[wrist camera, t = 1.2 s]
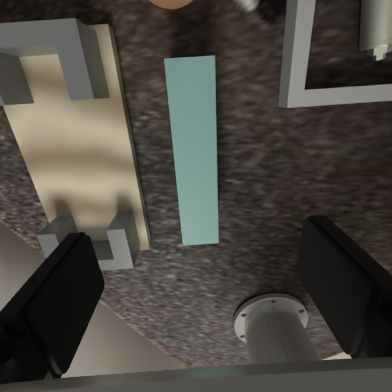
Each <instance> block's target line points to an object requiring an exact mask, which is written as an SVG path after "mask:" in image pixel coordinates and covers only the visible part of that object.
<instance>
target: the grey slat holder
mask: <svg viewBox="0 0 392 392" xmlns="http://www.w3.org/2000/svg"><path fill="white" fill-rule="evenodd" d="M54 54H58V57H59V61H60V64H61V68H62V72H63V75H64V79H65V82H66V86H67V90H68V93H69V97H70V101H72V100H90V99H104V98H110V97H109V93H108V88H107V83H106V78H105V73H104V68H103V64H102V59H101V54H100V49H99V44H98V39H97V34H96V31H94V30H93V29H91V28H90V27H88V26H87V25H85V24H84V23H82V22H80V21H79V20H77V19H76V18H68V19H54V20H40V21H26V22H12V23H0V106H2V105H18V104H32V103H34V100H33V98H32V95H31V92H30V89H29V86H28V83H27V80H26V77H25V74H24V71H23V68H22V65H21V62H20V59H19V57H26V56H40V55H54ZM77 232H78V230H77V227H76V224H75V222H74V219H73V216H59V217H56V218H55V219H54V220H52V221H51V222H50V223H49V224H48V225H47V226H46V227H45V228H44V229H43V230H42V231H40V232H39V233H38V234H37V237H38V239H39V242H40V244H41V246H42V249H43V251H44V253H45V256H46V258H47V257H48V256H49V255H50V254H51V253H52V252H53V251H54V249H55V248H56V247H57V246H58V245H59V244H60V243H61V241H62V240H63V239H64V238H65V237H66V236H67V235H68V234H69V233H77ZM106 232H107V235H108V239H109V240H101V241H92V244H93V247H94V251H95V254H96V257H97V260H98V263H99V266H100V269H101V270H114V269H129V268H134V265H135V262H136V259H137V256H138V253H139V250H140V243H139V238H138V233H137V228H136V223H135V219H134V214H133V212H118V213H117V214H116V215H115V217H114V218H113V220H112V222H111V223H110V225H109V227H108V228H107V230H106Z"/></svg>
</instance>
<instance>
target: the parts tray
mask: <svg viewBox="0 0 392 392" xmlns="http://www.w3.org/2000/svg"><path fill="white" fill-rule="evenodd" d="M315 2H316V0H287V9H286V21H285V32H284V44H283V56H282V68H281V79H280V91H279V103H278V107H285V108H292V107H306V106H321V105H335V104H349V103H364V102H378V101H392V84H380V85H366V86H352V87H337V88H323V89H308V90H304V89H305V81H306V73H307V65H308V57H309V49H310V41H311V33H312V26H313V18H314V10H315Z"/></svg>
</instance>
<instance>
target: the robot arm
mask: <svg viewBox="0 0 392 392" xmlns="http://www.w3.org/2000/svg"><path fill="white" fill-rule="evenodd" d="M297 274H298V276H299V278H300V279H301V281H302V283H303V284H304V286H305V288H306V289H307V291H308V293H309V294H310V296H311V298H312V300H313V301H314V303H315V305H316V306H317V308H318V310H319V311H320V313H321V315H322V316H323V318H324V320H325V321H326V323H327V325H328V326H329V328H330V330H331V331H332V333H333V335H334V336H335V338H336V340H337V341H338V343H339V345H340V346H341V348H342V350H343V351H344V352H345V353H346V354H350V356H351V357H352V359H334V360H320V359H319V357H318V355H317V353H316V351H315V348H314V346H313V344H312V342H311V340H310V338H309V336H308V334H307V332H306V330H305V327H306V325H307V322H308V313H307V311H306V309H305V307H304V305H303V304H302V303H301V301H299V300H298V299H297V298H295V297H293V296H291V295H287V294H281V293H269V294H263V295H260V296H256V297H254V298H252V299H250V300H248V301H247V302H245V303H244V304H243V305H242V306H241V307H240V308H239V309H238V310H237V312H236V313H235V316H234V320H233V324H234V330H235V333H236V335H237V336H238V337H239V338H240V339H241V340H242V341H243V342H245V343H247V347H248V351H249V356H250V360H251V364H252V365H238V366H223V367H208V368H193V369H180V370H165V371H150V372H137V373H124V374H109V375H96V376H82V377H69V378H61V376H62V374H64V373H66V372H67V370H68V369H69V367H70V364H71V362H72V360H73V358H74V355H75V353H76V351H77V349H78V346H79V344H80V342H81V339H82V337H83V335H84V333H85V331H86V328H87V326H88V323H89V321H90V319H91V317H92V315H93V312H94V310H95V308H96V306H97V303H98V301H99V299H100V297H101V294H102V292H103V290H104V285H105V284H104V279H103V275H102V272H101V269H100V266H99V263H98V260H97V257H96V254H95V251H94V247H93V244H92V241H91V238H90V236H89V235H86V234H85V233H84V232H77V233H69V234H68V235H67V236H66V237H65V238H64V239H63V240H62V241H61V243H60V244H59V245H58V246H57V247H56V248H55V249H54V251H53V252H52V253H51V254H50V255H49V256H48V257H47V259H46V260H45V261H44V262H43V263H42V264H41V265H40V267H39V268H38V269H37V270H36V271H35V272H34V274H33V275H32V276H31V277H30V278H29V279H28V280H27V282H26V283H25V284H24V285H23V286H22V287H21V288H20V290H19V291H18V292H17V293H16V294H15V295H14V296H13V298H12V299H11V300H10V301H9V302H8V303H7V305H6V306H5V307H4V308H3V309H2V310H1V311H0V392H392V275H391V274H390V273H389V272H388V271H386V270H385V269H384V268H383V267H382V266H381V265H380V264H379V263H378V262H376V261H375V260H374V259H373V258H372V257H371V256H370V255H369V254H368V253H366V252H365V251H364V250H363V249H362V248H361V247H360V246H359V245H357V244H356V243H355V242H354V241H353V240H352V239H351V238H350V237H349V236H347V235H346V234H345V233H344V232H343V231H342V230H341V229H340V228H339V227H337V226H336V225H335V224H334V223H333V222H332V221H331V220H330V219H328V218H327V217H326V216H325V215H312V216H308V218H307V219H305V220H304V222H303V229H302V235H301V242H300V248H299V255H298V261H297Z"/></svg>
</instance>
